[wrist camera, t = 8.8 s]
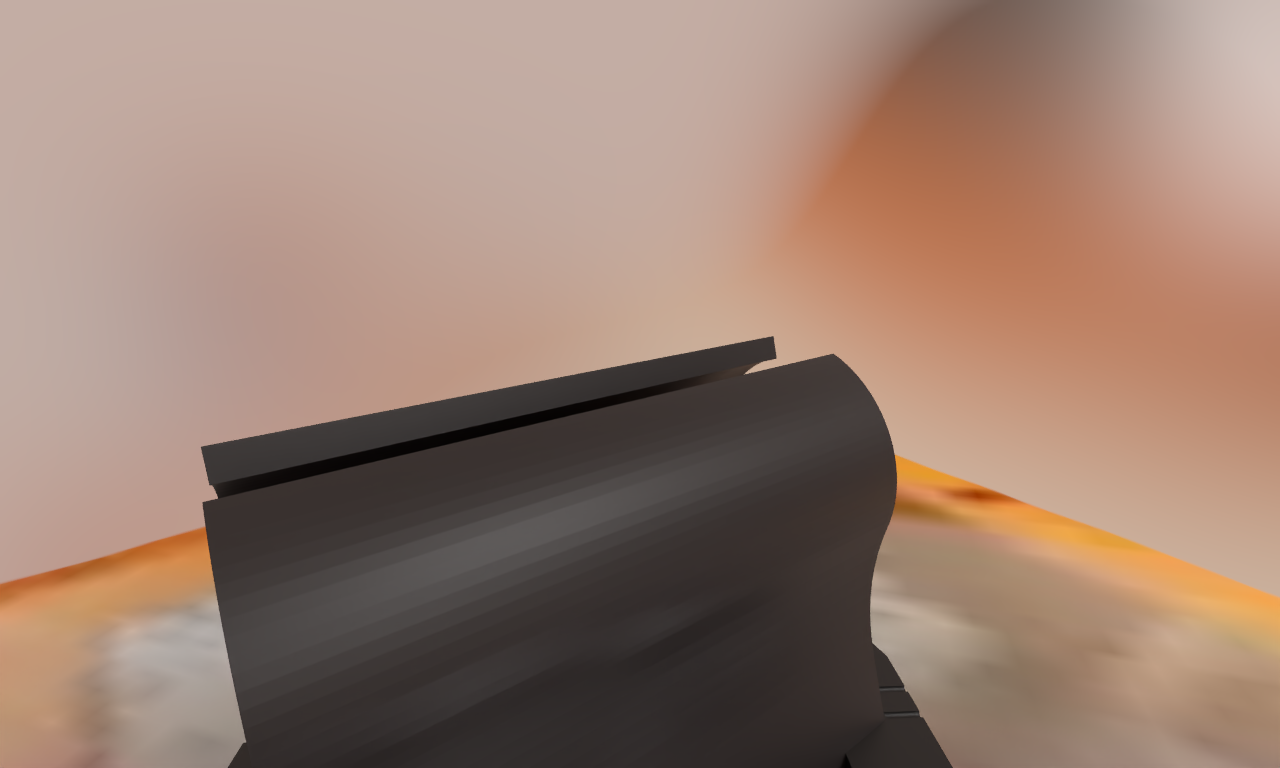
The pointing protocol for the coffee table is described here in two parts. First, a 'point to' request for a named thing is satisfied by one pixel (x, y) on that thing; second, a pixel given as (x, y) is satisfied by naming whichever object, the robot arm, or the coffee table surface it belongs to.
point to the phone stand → (563, 572)
